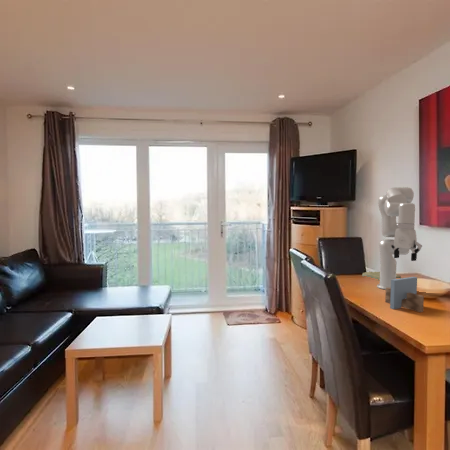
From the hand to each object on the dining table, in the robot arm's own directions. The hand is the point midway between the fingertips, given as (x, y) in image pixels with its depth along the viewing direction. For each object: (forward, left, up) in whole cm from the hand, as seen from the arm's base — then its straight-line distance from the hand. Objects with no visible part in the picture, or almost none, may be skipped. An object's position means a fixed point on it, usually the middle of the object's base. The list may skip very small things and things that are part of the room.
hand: (404, 259), depth 177 cm
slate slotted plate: (0, 0, -25) cm, 25 cm away
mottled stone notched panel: (0, 0, -25) cm, 25 cm away
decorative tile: (-78, -2, -26) cm, 82 cm away
